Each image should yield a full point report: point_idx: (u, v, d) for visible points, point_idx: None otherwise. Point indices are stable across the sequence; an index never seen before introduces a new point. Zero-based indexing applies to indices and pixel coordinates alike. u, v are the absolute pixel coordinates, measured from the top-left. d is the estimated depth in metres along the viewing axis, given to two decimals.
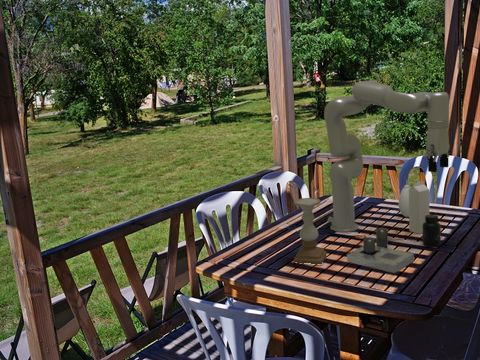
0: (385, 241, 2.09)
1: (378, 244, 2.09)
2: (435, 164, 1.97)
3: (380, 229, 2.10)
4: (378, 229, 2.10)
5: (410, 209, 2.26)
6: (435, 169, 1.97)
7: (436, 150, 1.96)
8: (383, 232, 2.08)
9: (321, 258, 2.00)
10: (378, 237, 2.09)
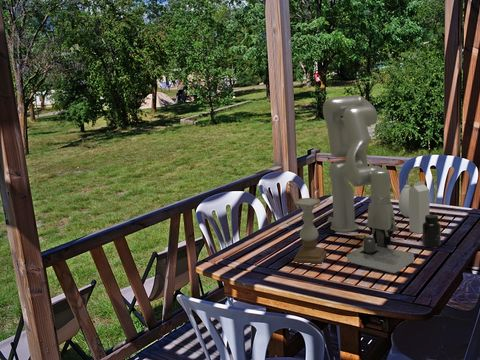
0: None
1: (378, 244, 2.09)
2: None
3: (380, 229, 2.10)
4: (378, 229, 2.10)
5: (410, 209, 2.26)
6: None
7: (394, 222, 2.06)
8: (383, 232, 2.08)
9: (321, 258, 2.00)
10: (378, 237, 2.09)
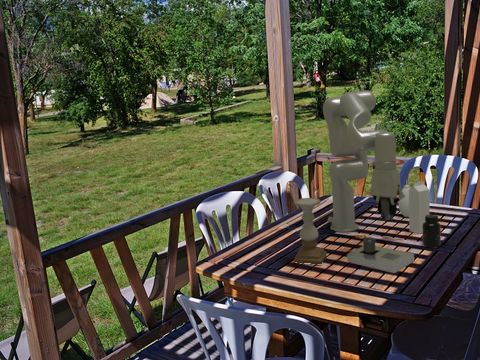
0: None
1: (383, 213, 1.95)
2: None
3: (385, 197, 1.95)
4: (383, 197, 1.95)
5: (410, 209, 2.26)
6: None
7: (400, 189, 1.92)
8: (388, 200, 1.93)
9: (321, 258, 2.00)
10: (383, 206, 1.94)
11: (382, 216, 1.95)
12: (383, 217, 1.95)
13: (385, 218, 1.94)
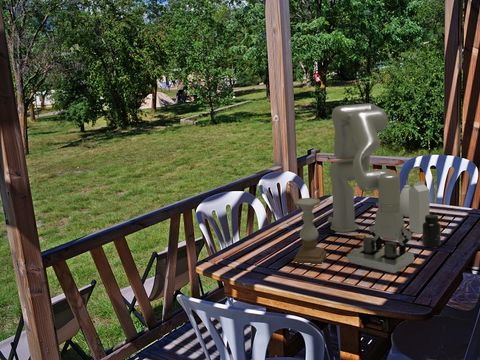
0: (394, 256, 1.92)
1: None
2: None
3: (389, 243, 1.93)
4: (386, 243, 1.93)
5: (410, 209, 2.26)
6: None
7: None
8: (392, 247, 1.91)
9: (321, 258, 2.00)
10: (386, 252, 1.92)
11: None
12: None
13: None
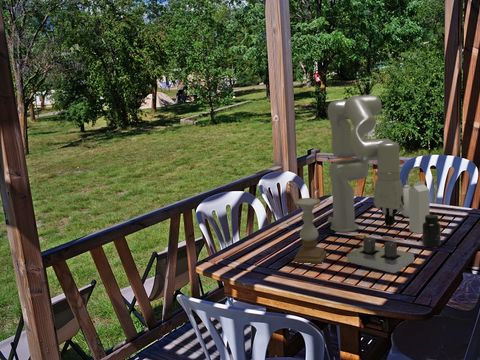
0: (394, 256, 1.92)
1: None
2: None
3: (389, 243, 1.93)
4: (387, 243, 1.93)
5: (410, 209, 2.26)
6: None
7: (403, 200, 1.87)
8: (392, 247, 1.91)
9: (321, 258, 2.00)
10: (387, 252, 1.92)
11: None
12: None
13: None
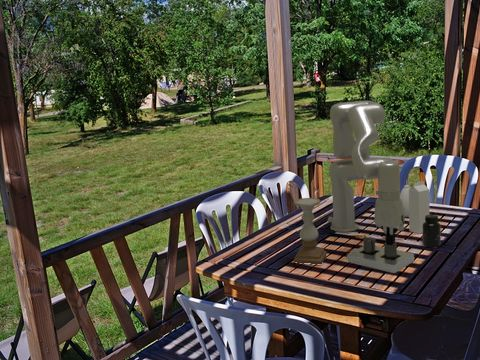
0: (394, 256, 1.92)
1: None
2: None
3: None
4: None
5: (410, 209, 2.26)
6: None
7: (404, 219, 1.88)
8: (392, 247, 1.91)
9: (321, 258, 2.00)
10: (387, 252, 1.92)
11: None
12: None
13: None
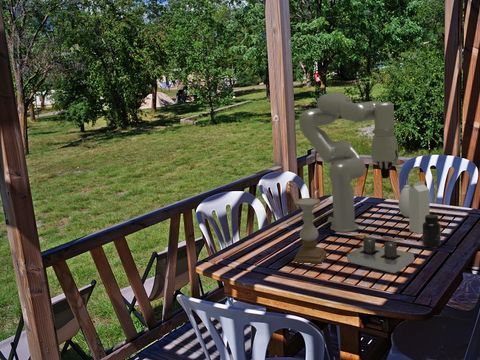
0: (394, 256, 1.92)
1: None
2: None
3: (389, 243, 1.93)
4: (386, 243, 1.93)
5: (410, 209, 2.26)
6: None
7: None
8: (392, 247, 1.91)
9: (321, 258, 2.00)
10: (387, 252, 1.92)
11: None
12: None
13: None
